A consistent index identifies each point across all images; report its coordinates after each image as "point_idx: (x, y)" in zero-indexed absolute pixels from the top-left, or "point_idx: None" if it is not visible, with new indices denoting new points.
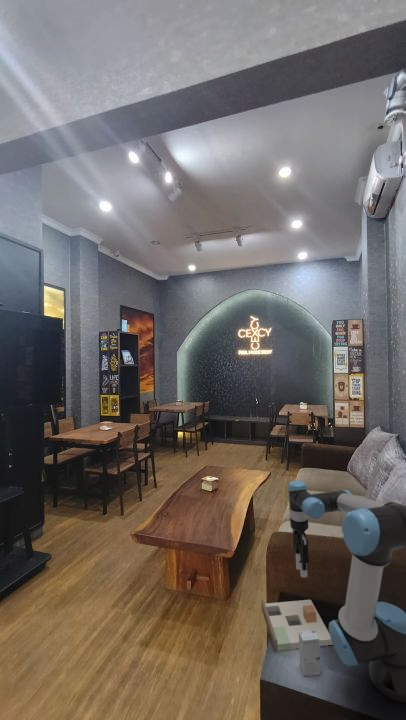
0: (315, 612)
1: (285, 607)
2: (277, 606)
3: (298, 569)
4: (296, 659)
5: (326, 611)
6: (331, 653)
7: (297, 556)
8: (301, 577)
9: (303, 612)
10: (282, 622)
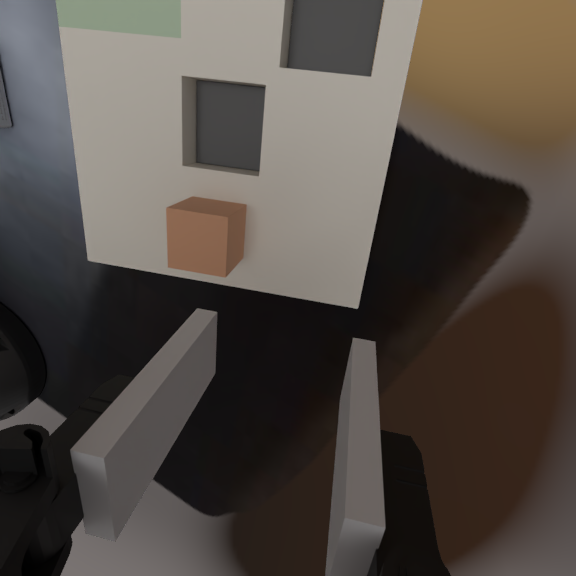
0: (169, 263)
1: (338, 123)
2: (373, 69)
3: (349, 355)
4: (33, 41)
5: (297, 338)
6: (71, 225)
7: (342, 498)
8: (198, 311)
9: (233, 207)
10: (213, 40)
